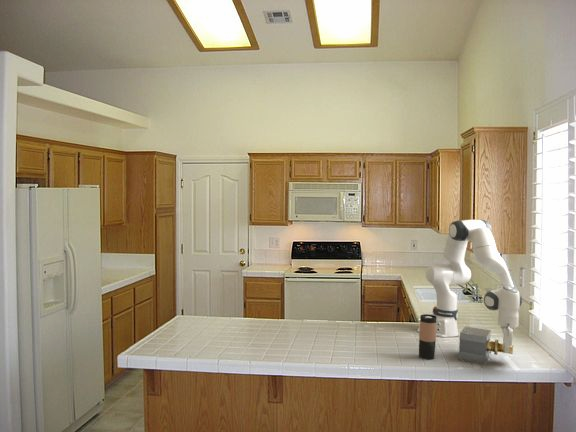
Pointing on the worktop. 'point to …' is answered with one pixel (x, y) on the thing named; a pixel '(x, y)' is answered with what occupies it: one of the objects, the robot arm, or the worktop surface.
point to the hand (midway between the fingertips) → (506, 350)
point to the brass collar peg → (497, 347)
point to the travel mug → (427, 336)
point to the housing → (474, 345)
